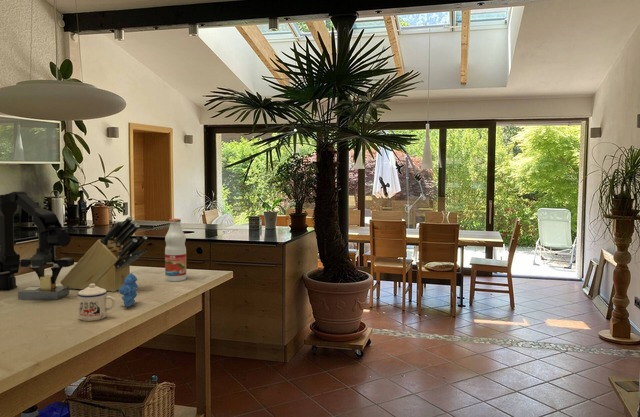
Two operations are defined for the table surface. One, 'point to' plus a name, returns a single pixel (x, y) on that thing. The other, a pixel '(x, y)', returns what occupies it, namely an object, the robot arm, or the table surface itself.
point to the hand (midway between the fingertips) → (48, 283)
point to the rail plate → (43, 293)
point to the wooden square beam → (47, 283)
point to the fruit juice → (175, 252)
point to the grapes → (129, 290)
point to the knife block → (107, 259)
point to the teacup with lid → (93, 303)
